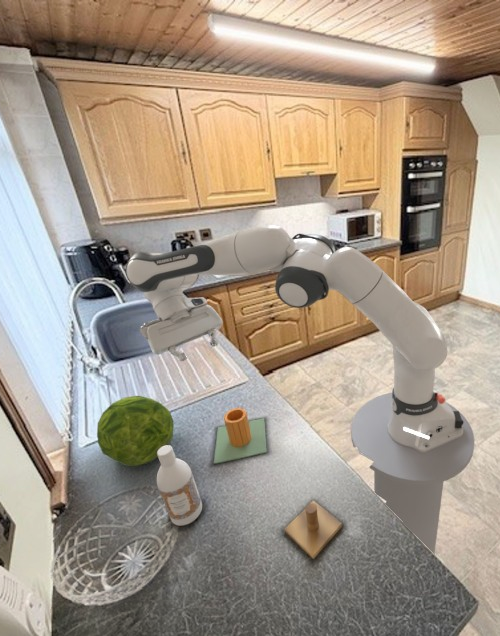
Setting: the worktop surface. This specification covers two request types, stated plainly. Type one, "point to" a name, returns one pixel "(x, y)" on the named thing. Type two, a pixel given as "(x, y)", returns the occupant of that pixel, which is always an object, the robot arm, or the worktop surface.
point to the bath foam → (177, 488)
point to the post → (313, 528)
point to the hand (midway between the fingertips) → (200, 352)
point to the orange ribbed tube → (237, 427)
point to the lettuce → (134, 430)
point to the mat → (252, 448)
